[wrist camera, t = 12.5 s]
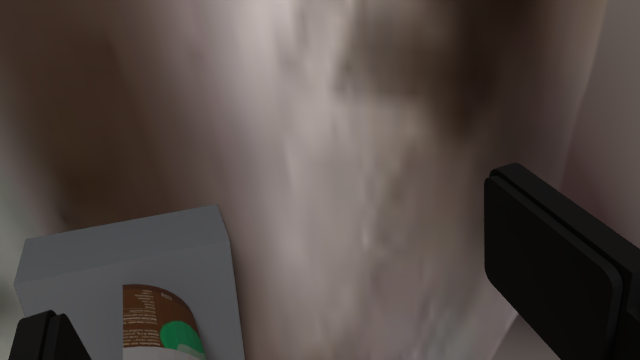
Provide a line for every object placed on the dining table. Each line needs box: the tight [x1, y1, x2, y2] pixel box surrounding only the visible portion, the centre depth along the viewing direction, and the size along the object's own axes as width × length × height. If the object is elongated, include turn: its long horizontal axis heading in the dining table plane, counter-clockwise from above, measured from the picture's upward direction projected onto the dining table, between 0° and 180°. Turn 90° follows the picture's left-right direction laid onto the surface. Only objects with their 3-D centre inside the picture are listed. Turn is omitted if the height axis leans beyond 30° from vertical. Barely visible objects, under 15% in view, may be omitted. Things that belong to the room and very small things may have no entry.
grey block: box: [14, 204, 245, 360], centre depth 42 cm, size 14×14×6 cm
